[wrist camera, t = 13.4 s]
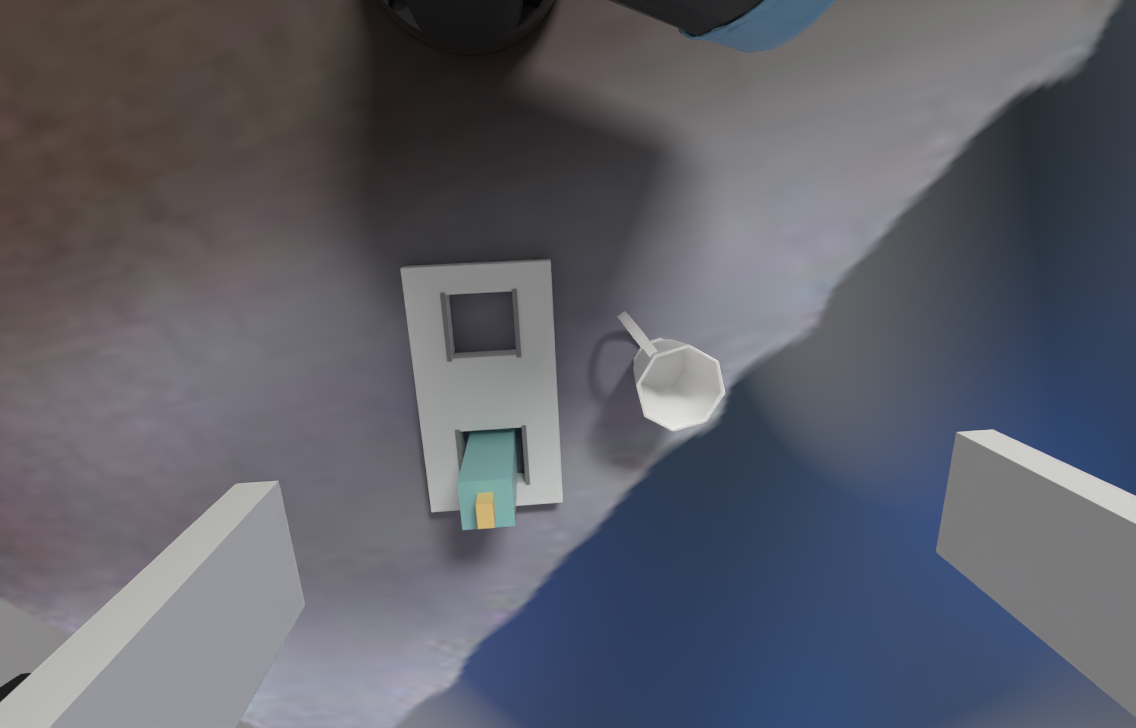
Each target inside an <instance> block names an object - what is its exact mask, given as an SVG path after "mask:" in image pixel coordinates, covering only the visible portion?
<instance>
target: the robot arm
mask: <svg viewBox="0 0 1136 728" xmlns="http://www.w3.org/2000/svg"><path fill="white" fill-rule="evenodd" d="M379 1H380V3H381V4H382V6H383V7H384V8H385V10H386V11H387V12H388V13H389V15H390V16H391V17H392V18H393V19H394V20H395V21H396V22H397V23H398V24H399V25H400V26H401V27H402V28H403V29H405V30H406V31H407V32H408V33H410V34H411V35H412V36H414V37H415V38H417V39H418V40H420V41H422V42H423V43H425V44H427V45H429V46H432V47H434V48H436V49H439V50H442V51H445V52H449V53H454V54H460V55H482V54H488V53H492V52H496V51H499V50H502V49H505V48H507V47H509V46H511V45H513V44H515V43H517V42H518V41H520V40H521V39H523V38H524V37H525V36H527V35H528V34H529V33H530V32H531V31H533V30H534V29H535V28H536V27H537V26H538V24H539V23H540V22H541V21H542V20H543V19H544V17H545V16H546V14H547V13H548V12H549V10H550V8H551V7H552V5H553V3H554V1H555V0H379ZM609 1H611V2H614V3H616V4H619V5H621V6H624V7H626V8H629V9H632V10H634V11H637V12H639V13H642V14H644V15H647V16H649V17H652V18H654V19H657V20H659V21H662V22H664V23H667V24H669V25H672V26H674V27H677V28H678V30H679V32H680V33H681V34H682V35H684V36H685V37H687V38H689V39H692V40H701V41H706V40H709V41H712V42H715V43H718V44H721V45H724V46H727V47H729V48H732V49H735V50H738V51H742V52H756V51H765V50H770V49H773V48H776V47H778V46H780V45H782V44H784V43H786V42H788V41H789V40H791V39H793V38H794V37H796V36H797V35H799V34H800V33H801V32H803V31H804V30H805V29H806V28H808V27H809V26H810V25H811V24H813V23H814V22H815V21H816V20H817V19H818V18H819V17H820V16H821V15H822V14H823V13H824V12H825V11H826V10H827V9H828V8H829V7H830V6H831V5H832V4H833V3H834V2H835V1H836V0H609ZM936 552H937V553H938V554H939V555H940V556H942V557H943V558H944V559H945V560H947V561H948V562H949V563H950V564H951V565H953V566H954V567H955V568H956V569H957V570H959V571H960V572H961V573H962V574H963V575H965V576H966V577H967V578H968V579H969V580H971V581H972V582H973V583H975V584H976V585H977V586H978V587H979V588H980V589H981V590H983V591H984V592H985V593H986V594H988V595H989V596H990V597H991V598H992V599H994V600H995V601H996V602H997V603H998V604H1000V605H1001V606H1002V607H1003V608H1005V609H1006V610H1007V611H1008V612H1009V613H1010V614H1012V615H1013V616H1014V617H1015V618H1016V619H1018V620H1019V621H1020V622H1021V623H1022V624H1024V625H1025V626H1026V627H1028V628H1029V629H1030V630H1031V631H1032V632H1033V633H1035V634H1036V635H1037V636H1038V637H1040V638H1041V639H1042V640H1043V641H1044V642H1045V643H1047V644H1048V645H1049V646H1050V647H1051V648H1053V649H1054V650H1055V651H1056V652H1058V653H1059V654H1060V655H1061V656H1062V657H1064V658H1065V659H1066V660H1067V661H1068V662H1070V663H1071V664H1072V665H1073V666H1075V667H1076V668H1077V669H1078V670H1079V671H1081V672H1082V673H1083V674H1084V675H1085V676H1086V677H1088V678H1089V679H1090V680H1091V681H1092V682H1094V683H1095V684H1096V685H1097V686H1098V687H1100V688H1101V689H1102V690H1103V691H1104V692H1106V693H1107V694H1108V695H1109V696H1111V697H1112V698H1113V699H1114V700H1115V701H1117V702H1118V703H1119V704H1120V705H1121V706H1123V707H1124V708H1125V709H1126V710H1128V711H1129V712H1130V713H1131V714H1132V715H1134V716H1135V717H1136V496H1135V495H1132V494H1130V493H1128V492H1126V491H1124V490H1121V489H1120V488H1117V487H1115V486H1113V485H1111V484H1109V483H1107V482H1104V481H1102V480H1100V479H1098V478H1096V477H1094V476H1092V475H1089V474H1087V473H1085V472H1083V471H1081V470H1079V469H1076V468H1074V467H1072V466H1070V465H1068V464H1066V463H1064V462H1061V461H1059V460H1057V459H1055V458H1053V457H1051V456H1049V455H1047V454H1044V453H1042V452H1040V451H1038V450H1036V449H1034V448H1031V447H1029V446H1027V445H1025V444H1023V443H1021V442H1019V441H1016V440H1014V439H1012V438H1010V437H1008V436H1006V435H1004V434H1001V433H999V432H997V431H995V430H979V431H965V432H956V437H955V443H954V449H953V455H952V461H951V467H950V472H949V478H948V485H947V490H946V495H945V502H944V507H943V513H942V520H941V525H940V531H939V537H938V543H937V548H936ZM304 607H305V602H304V598H303V593H302V588H301V584H300V579H299V574H298V569H297V565H296V560H295V555H294V551H293V546H292V541H291V537H290V532H289V527H288V522H287V518H286V513H285V508H284V504H283V499H282V494H281V490H280V485H279V481H266V482H252V483H238V484H235V485H234V486H233V487H232V488H231V489H229V490H228V491H227V492H226V493H225V494H224V495H223V496H222V497H221V498H220V499H219V500H218V501H217V502H215V503H214V504H213V505H212V506H211V507H210V508H209V509H208V510H207V511H206V512H205V513H204V514H203V515H201V516H200V517H199V518H198V519H197V520H196V521H195V522H194V523H193V524H192V525H191V526H190V527H189V528H187V529H186V530H185V531H184V532H183V533H182V534H181V535H180V536H179V537H178V538H177V539H176V540H175V541H173V542H172V543H171V544H170V545H169V546H168V547H167V548H166V549H165V550H164V551H163V552H162V553H161V554H159V555H158V556H157V557H156V558H155V559H154V560H153V561H152V562H151V563H150V564H149V565H148V566H147V567H145V568H144V569H143V570H142V571H141V572H140V573H139V574H138V575H137V576H136V577H135V578H134V579H133V580H131V581H130V582H129V583H128V584H127V585H126V586H125V587H124V588H123V589H122V590H121V591H120V592H119V593H117V594H116V595H115V596H114V597H113V598H112V599H111V600H110V601H109V602H108V603H107V604H106V605H105V606H103V607H102V608H101V609H100V610H99V611H98V612H97V613H96V614H95V615H94V616H93V617H92V618H91V619H89V620H88V621H87V622H86V623H85V624H84V625H83V626H82V627H81V628H80V629H79V630H78V631H77V632H75V633H74V634H73V635H72V636H71V637H70V638H69V639H68V640H67V641H66V642H65V643H64V644H63V645H62V646H60V647H59V648H58V649H57V650H56V651H55V652H54V653H53V654H52V655H51V656H50V657H49V658H47V659H46V660H45V661H44V662H43V663H42V664H41V665H40V666H39V667H38V668H37V669H36V670H35V671H33V672H32V673H26V674H20V675H19V676H17V677H15V678H14V679H12V680H11V681H9V682H8V683H6V684H5V685H3V686H2V687H0V728H236V727H237V725H238V723H239V721H240V720H241V718H242V716H243V714H244V713H245V711H246V709H247V707H248V705H249V704H250V702H251V700H252V698H253V697H254V695H255V693H256V691H257V690H258V688H259V686H260V684H261V682H262V681H263V679H264V677H265V675H266V674H267V672H268V670H269V668H270V667H271V665H272V663H273V661H274V660H275V658H276V656H277V654H278V652H279V651H280V649H281V647H282V645H283V644H284V642H285V640H286V638H287V637H288V635H289V633H290V631H291V629H292V628H293V626H294V624H295V622H296V621H297V619H298V617H299V615H300V614H301V612H302V610H303V608H304Z"/></svg>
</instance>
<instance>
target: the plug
mask: <svg viewBox="0 0 1136 728" xmlns="http://www.w3.org/2000/svg"><path fill="white" fill-rule="evenodd" d="M517 472H518V463H517V450H516V437H515V428H506V429H491V430H476V431H470V435H469V439H468V443H467V447H466V450H465V454H464V458H463V462H462V466H461V470H460V473H459V477H458V481H457V486H458V495H459V504H460V513H461V522H462V530H471V529H487V528H497V527H509V526H515V524H516V498H517Z"/></svg>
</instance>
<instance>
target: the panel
mask: <svg viewBox="0 0 1136 728" xmlns="http://www.w3.org/2000/svg"><path fill="white" fill-rule="evenodd" d="M400 270H401V278H402V285H403V293H404V301H405V309H406V317H407V325H408V332H409V340H410V348H411V356H412V364H413V372H414V379H415V387H416V395H417V403H418V411H419V419H420V426H421V434H422V442H423V450H424V458H425V466H426V474H427V481H428V489H429V497H430V505H431V512H443V511H456V510H460V504H459V495H458V486H457V481H458V477H459V473H460V470H461V466H462V462H463V458H464V454H465V443H464V434H463V431H476V430H491V429H506V428H520V427H522V441H523V455H524V469H525V472H523V473H517V498H516V506H522V505H535V504H548V503H561V502H563V494H562V474H561V455H560V435H559V415H558V395H557V375H556V356H555V336H554V316H553V296H552V276H551V260H550V259H536V260H515V261H495V262H475V263H454V264H434V265H414V266H404V267H402V268H400ZM509 291H512V301H513V315H514V329H515V343H516V349H513V350H496V351H479V352H462V353H455V347H454V338H453V328H452V318H451V309H450V299H449V295H452V294H471V293H490V292H509Z"/></svg>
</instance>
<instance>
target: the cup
mask: <svg viewBox="0 0 1136 728" xmlns="http://www.w3.org/2000/svg"><path fill="white" fill-rule="evenodd" d="M617 317H618V318H619V320H620V321H621V322H622V324H623V325H624V326H625V328H626V329H627V330H628V331H629V333H630V334H631V335H632V337H633V338H634V339H635V341H636V342H637V343H638V345H639V346H640V348H639V350H638V351H637V353H636V355H635V356H634V358H633V361H634V366H633V371H634V376H635V383H636V387H637V391H638V395H639V399H640V403H641V407H642V410H643V414H644V417H645V418H647V419H649V420H651V421H653V422H655V423H657V424H659V425H661V426H663V427H665V428H667V429H669V430H671V431H673V432H674V431H678V430H681V429H685V428H688V427H691V426H695V425H698V424H702V423H705V422H707V420H708V419H709V417H710V416H711V414H712V413H713V411H714V410H715V408H716V407H717V405H718V404H719V402H720V401H721V399H722V397H723V396H724V394H725V390H724V385H723V380H722V375H721V370H720V366H719V361H718V360H716V359H714V358H712V357H710V356H709V355H707V354H705V353H703V352H701V351H700V350H698V349H696V348H694V347H692V346H691V345H689V344H686V343H682V342H678V341H675V340H672V339H666V340H664V339H662V338H658V339H654V340H651V341H650V340H649V339H648V338H647V337H646V335H645V334H644V333H643V331H642V330H641V329H640V328H639V327H638V325H637V324H636V323H635V322H634V320H633V319H632V318H631V317H630V316H629V315H628V313H627V312H626V311H624V312H622V313H621V314H620V315H619V316H617Z"/></svg>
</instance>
